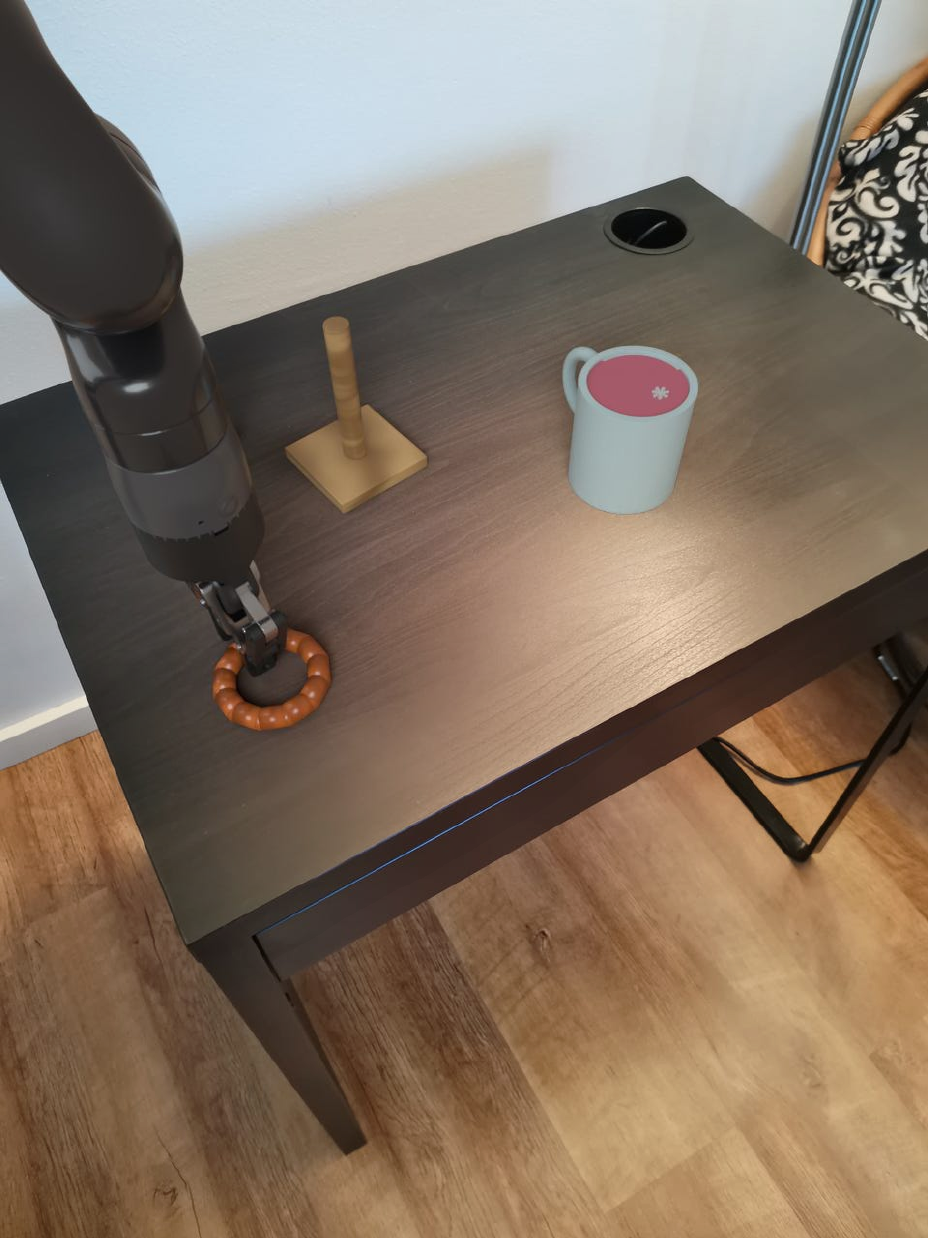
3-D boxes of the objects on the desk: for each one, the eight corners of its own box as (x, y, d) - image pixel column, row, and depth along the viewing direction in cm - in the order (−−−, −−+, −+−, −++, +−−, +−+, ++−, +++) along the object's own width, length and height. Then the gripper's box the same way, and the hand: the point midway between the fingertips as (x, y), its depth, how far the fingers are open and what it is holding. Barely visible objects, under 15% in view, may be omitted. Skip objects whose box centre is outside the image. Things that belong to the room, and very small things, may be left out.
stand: (344, 514, 74) (319, 378, 63) (286, 457, 79) (253, 319, 67) (428, 465, 78) (419, 328, 66) (368, 413, 82) (350, 275, 70)
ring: (254, 755, 61) (249, 744, 60) (195, 676, 65) (189, 664, 64) (353, 689, 64) (351, 677, 63) (291, 617, 68) (287, 605, 67)
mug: (697, 487, 76) (723, 394, 68) (609, 529, 73) (625, 438, 65) (602, 397, 83) (615, 304, 75) (519, 433, 80) (523, 340, 72)
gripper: (76, 451, 54) (158, 617, 68) (188, 591, 47) (255, 744, 61) (185, 399, 57) (243, 569, 71) (306, 524, 50) (344, 685, 64)
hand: (248, 649), depth 66 cm, fingers open, 3 cm apart
